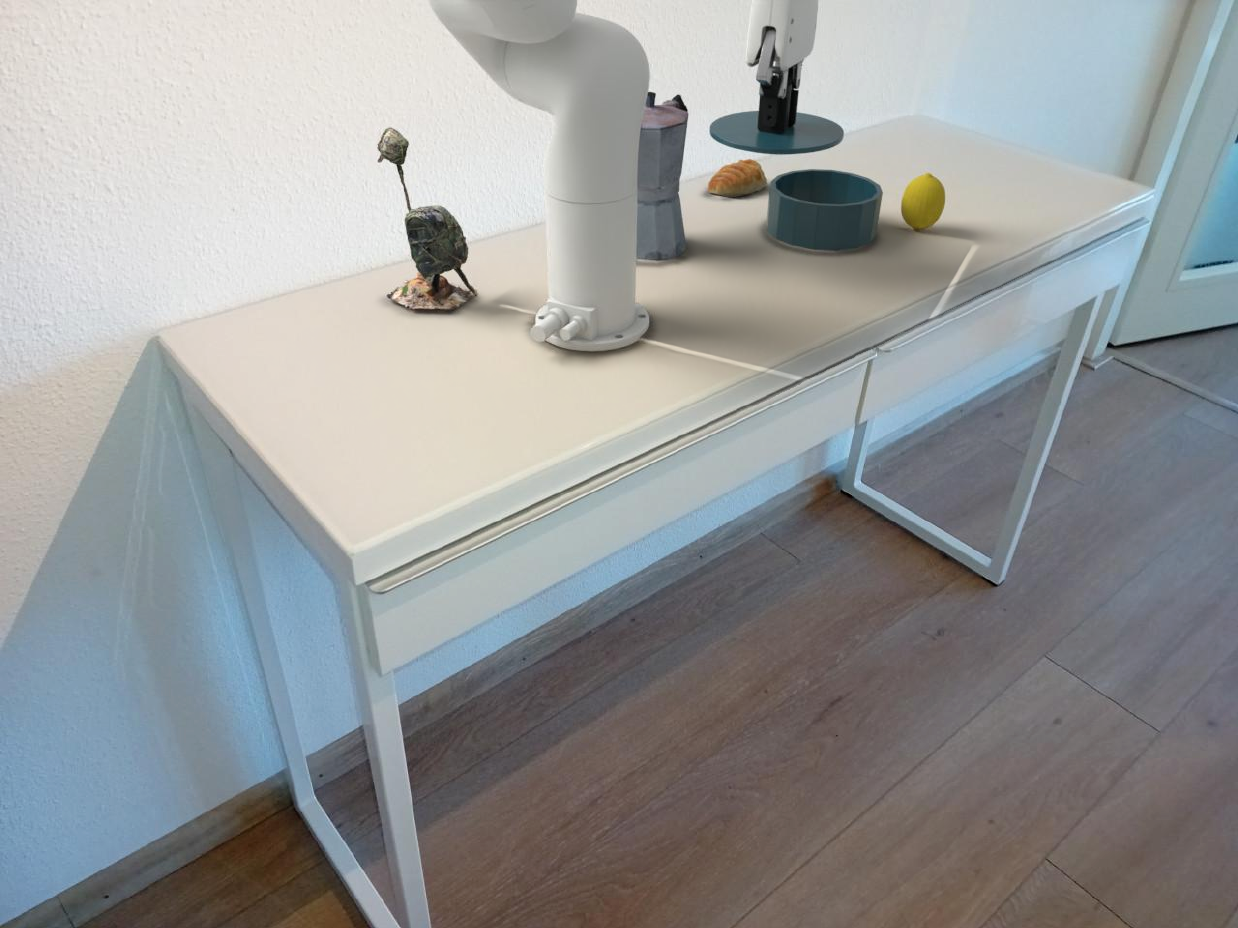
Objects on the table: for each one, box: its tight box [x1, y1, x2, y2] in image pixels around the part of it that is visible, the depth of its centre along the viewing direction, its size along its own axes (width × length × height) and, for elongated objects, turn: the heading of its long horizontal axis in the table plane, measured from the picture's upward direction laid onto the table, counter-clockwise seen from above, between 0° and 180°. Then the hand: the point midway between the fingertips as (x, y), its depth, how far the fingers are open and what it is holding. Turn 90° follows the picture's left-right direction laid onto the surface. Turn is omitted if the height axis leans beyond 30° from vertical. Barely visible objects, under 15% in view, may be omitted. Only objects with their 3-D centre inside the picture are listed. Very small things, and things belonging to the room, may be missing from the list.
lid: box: [709, 82, 845, 156], centre depth 112 cm, size 15×15×6 cm
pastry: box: [707, 158, 768, 199], centre depth 145 cm, size 9×7×4 cm
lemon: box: [900, 172, 946, 232], centre depth 130 cm, size 6×6×8 cm
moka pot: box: [636, 91, 689, 262], centre depth 121 cm, size 10×15×20 cm, turn 152°
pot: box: [765, 168, 884, 251], centre depth 130 cm, size 14×14×6 cm
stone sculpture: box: [376, 126, 479, 311], centre depth 108 cm, size 8×11×20 cm
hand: (776, 126), depth 113 cm, fingers closed on lid, 2 cm apart
